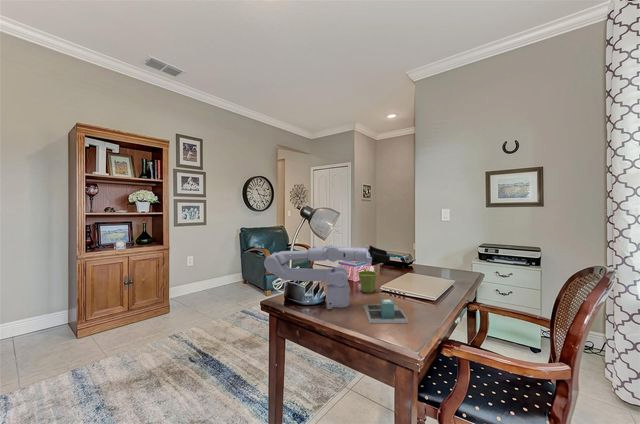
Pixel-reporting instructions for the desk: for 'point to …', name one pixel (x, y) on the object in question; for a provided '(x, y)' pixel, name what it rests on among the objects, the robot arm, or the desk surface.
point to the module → (387, 309)
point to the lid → (376, 307)
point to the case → (375, 317)
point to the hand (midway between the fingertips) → (388, 256)
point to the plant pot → (367, 280)
